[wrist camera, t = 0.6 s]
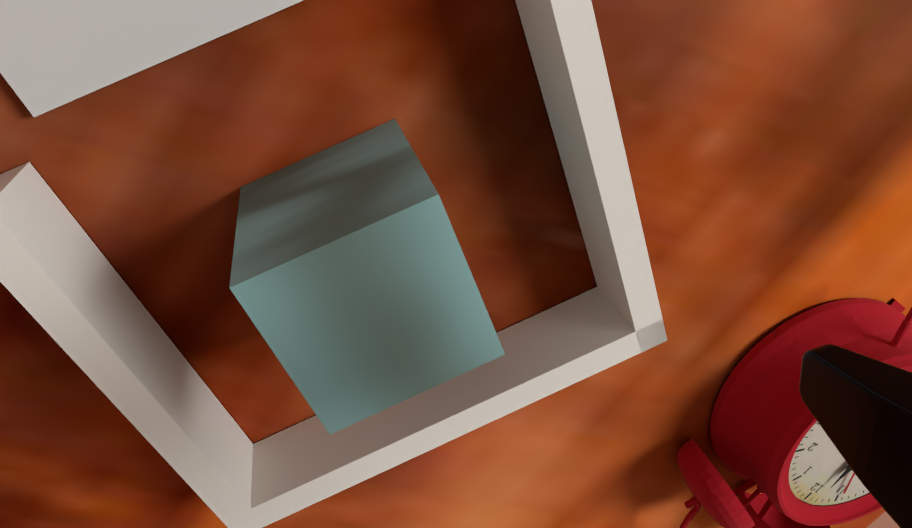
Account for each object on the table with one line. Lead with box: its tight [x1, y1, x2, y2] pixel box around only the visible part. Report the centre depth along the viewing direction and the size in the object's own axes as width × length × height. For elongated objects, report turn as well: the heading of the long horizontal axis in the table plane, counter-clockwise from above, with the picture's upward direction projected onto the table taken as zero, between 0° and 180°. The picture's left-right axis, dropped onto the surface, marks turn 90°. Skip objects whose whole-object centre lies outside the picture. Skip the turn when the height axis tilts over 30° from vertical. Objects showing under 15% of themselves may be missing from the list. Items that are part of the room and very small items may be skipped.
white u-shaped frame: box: [0, 0, 667, 528], centre depth 20 cm, size 16×13×3 cm
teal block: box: [229, 119, 505, 434], centre depth 18 cm, size 5×5×6 cm
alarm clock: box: [677, 298, 912, 528], centre depth 29 cm, size 10×6×15 cm
